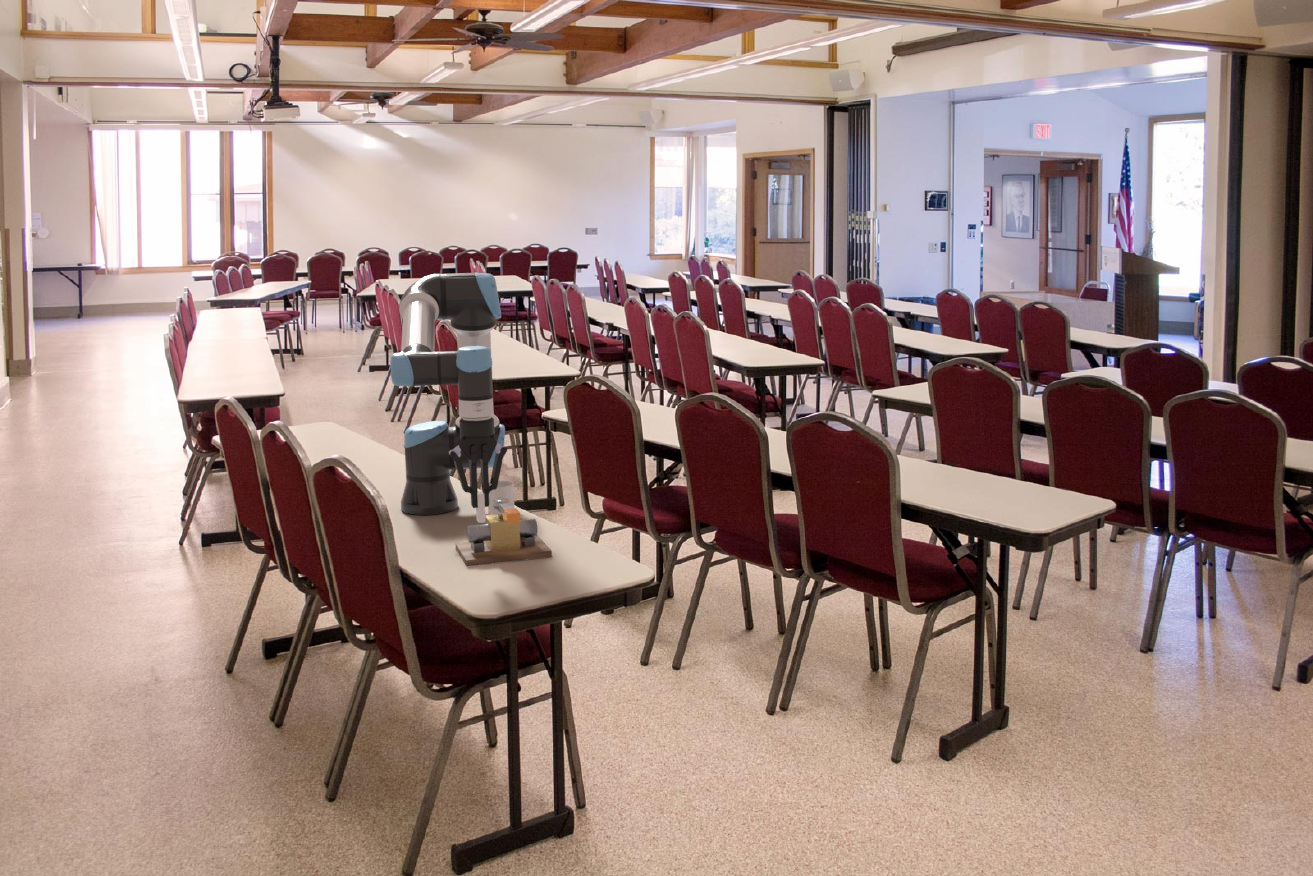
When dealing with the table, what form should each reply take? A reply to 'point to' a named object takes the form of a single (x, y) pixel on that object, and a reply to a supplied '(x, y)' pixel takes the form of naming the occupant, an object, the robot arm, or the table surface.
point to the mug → (501, 495)
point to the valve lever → (507, 510)
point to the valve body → (501, 534)
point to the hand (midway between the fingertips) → (481, 521)
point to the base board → (502, 553)
